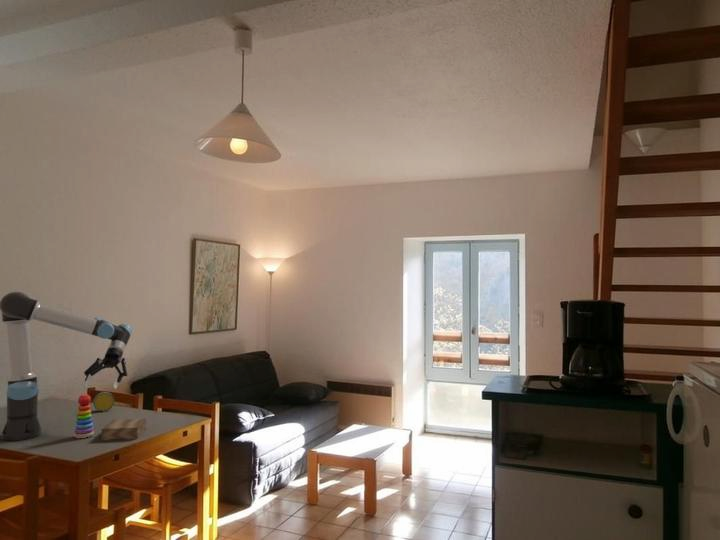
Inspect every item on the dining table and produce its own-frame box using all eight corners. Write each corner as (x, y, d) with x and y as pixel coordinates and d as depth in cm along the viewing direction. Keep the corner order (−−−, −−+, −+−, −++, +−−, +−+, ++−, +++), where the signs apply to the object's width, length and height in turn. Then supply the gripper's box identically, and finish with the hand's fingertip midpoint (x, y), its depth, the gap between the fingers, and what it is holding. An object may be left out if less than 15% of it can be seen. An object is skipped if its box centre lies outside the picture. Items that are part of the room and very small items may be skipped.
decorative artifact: (93, 412, 276) (93, 394, 276) (92, 410, 282) (92, 391, 282) (114, 410, 281) (114, 391, 281) (112, 407, 287) (112, 389, 287)
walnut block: (101, 440, 228) (101, 429, 228) (112, 430, 243) (112, 420, 243) (137, 438, 230) (137, 427, 231) (145, 429, 245) (145, 418, 245)
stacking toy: (98, 434, 237) (98, 393, 237) (84, 439, 229) (85, 397, 230) (84, 433, 239) (84, 392, 239) (70, 438, 231) (70, 395, 232)
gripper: (142, 356, 264) (128, 392, 249) (93, 356, 264) (76, 392, 249) (137, 346, 259) (123, 383, 244) (87, 346, 259) (70, 383, 244)
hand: (99, 387), depth 246 cm, fingers open, 13 cm apart
